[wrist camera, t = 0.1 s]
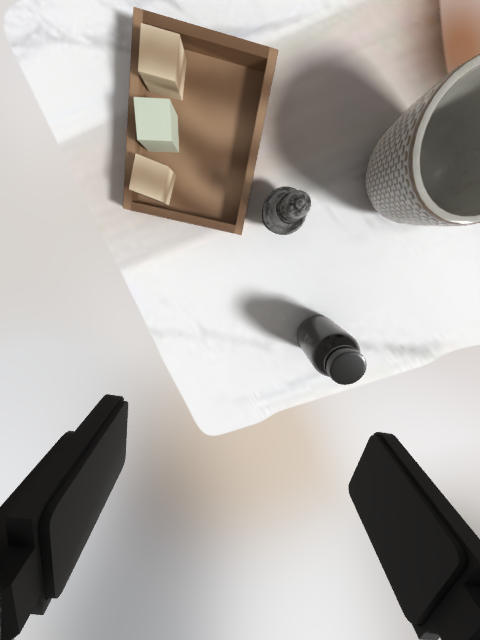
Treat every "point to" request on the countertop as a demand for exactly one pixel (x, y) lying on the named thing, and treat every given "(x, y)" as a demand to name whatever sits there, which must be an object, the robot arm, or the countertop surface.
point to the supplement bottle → (331, 350)
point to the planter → (432, 156)
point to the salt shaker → (285, 210)
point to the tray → (206, 125)
